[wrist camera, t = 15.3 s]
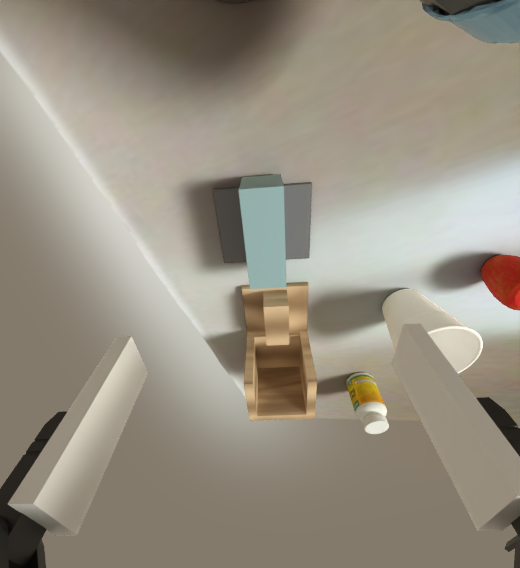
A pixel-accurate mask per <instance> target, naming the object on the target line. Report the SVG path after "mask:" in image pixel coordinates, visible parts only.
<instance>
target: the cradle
mask: <svg viewBox="0 0 520 568" xmlns="http://www.w3.org/2000/svg"><path fill="white" fill-rule="evenodd" d="M242 296H243V304H244V311H245V319H246V327H247V345H246V360H245V374H244V388H245V395H246V401H247V407H248V413H249V419H250V421H254V420H289V419H314V417H315V404H316V391H317V378H316V373H315V368H314V363H313V358H312V354H311V349H310V344H309V339H308V334H307V312H308V282H299V283H286V287H282V288H265V289H250V285H243V286H242Z"/></svg>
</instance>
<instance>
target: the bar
mask: <svg viewBox="0 0 520 568" xmlns="http://www.w3.org/2000/svg"><path fill="white" fill-rule="evenodd" d="M238 190H239V199H240V207H241V216H242V224H243V233H244V242H245V250H246V259H247V268H248V276H249V285H250V289H265V288H282V287H286V252H285V213H284V185H283V182H282V178H281V175H280V174H276V175H264V176H251V177H242V180H241V183H240V186H239V189H238Z"/></svg>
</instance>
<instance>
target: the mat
mask: <svg viewBox="0 0 520 568" xmlns="http://www.w3.org/2000/svg"><path fill="white" fill-rule="evenodd" d="M283 185H284V213H285V252H286V259H303V258H309V251H310V223H311V196H312V183H311V182H308V183H293V184H283ZM238 189H239V187H236V188H222V189H213V196H214V202H215V208H216V214H217V220H218V227H219V233H220V239H221V245H222V251H223V258H224V263H233V262H247V259H246V250H245V242H244V233H243V224H242V216H241V207H240V199H239V190H238Z"/></svg>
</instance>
